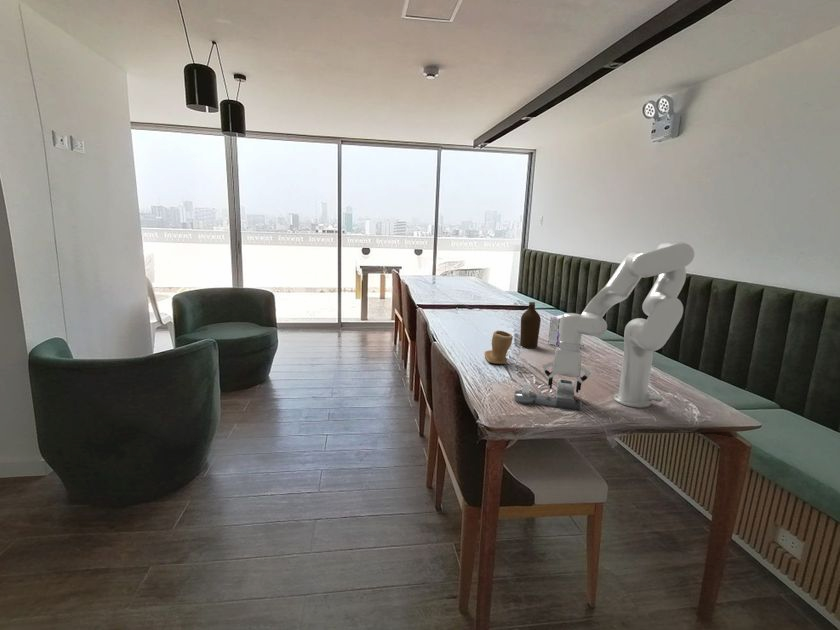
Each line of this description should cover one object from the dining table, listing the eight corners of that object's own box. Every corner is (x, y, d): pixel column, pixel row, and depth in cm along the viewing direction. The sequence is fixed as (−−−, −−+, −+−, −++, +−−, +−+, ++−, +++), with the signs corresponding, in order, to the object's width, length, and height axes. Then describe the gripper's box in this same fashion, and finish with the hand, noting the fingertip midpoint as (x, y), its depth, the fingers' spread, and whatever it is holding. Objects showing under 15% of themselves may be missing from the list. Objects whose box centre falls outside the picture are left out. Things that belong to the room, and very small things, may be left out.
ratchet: (580, 404, 154) (582, 387, 153) (581, 412, 147) (583, 395, 145) (515, 395, 161) (516, 379, 160) (513, 402, 154) (514, 385, 153)
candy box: (561, 341, 250) (563, 313, 247) (570, 343, 246) (572, 315, 242) (547, 344, 241) (550, 316, 238) (556, 346, 237) (559, 317, 234)
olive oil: (524, 349, 229) (527, 303, 224) (515, 344, 239) (518, 300, 235) (541, 348, 231) (545, 303, 227) (532, 343, 242) (536, 300, 237)
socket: (572, 395, 163) (574, 380, 162) (573, 400, 158) (574, 385, 156) (556, 392, 165) (558, 378, 164) (556, 398, 159) (557, 383, 158)
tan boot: (512, 366, 198) (514, 335, 195) (487, 365, 198) (489, 334, 195) (507, 357, 213) (509, 328, 210) (484, 356, 213) (485, 327, 210)
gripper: (593, 347, 159) (587, 390, 162) (545, 341, 164) (540, 382, 167) (594, 351, 151) (588, 396, 155) (544, 345, 157) (539, 388, 160)
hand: (563, 389), depth 161 cm, fingers open, 9 cm apart
